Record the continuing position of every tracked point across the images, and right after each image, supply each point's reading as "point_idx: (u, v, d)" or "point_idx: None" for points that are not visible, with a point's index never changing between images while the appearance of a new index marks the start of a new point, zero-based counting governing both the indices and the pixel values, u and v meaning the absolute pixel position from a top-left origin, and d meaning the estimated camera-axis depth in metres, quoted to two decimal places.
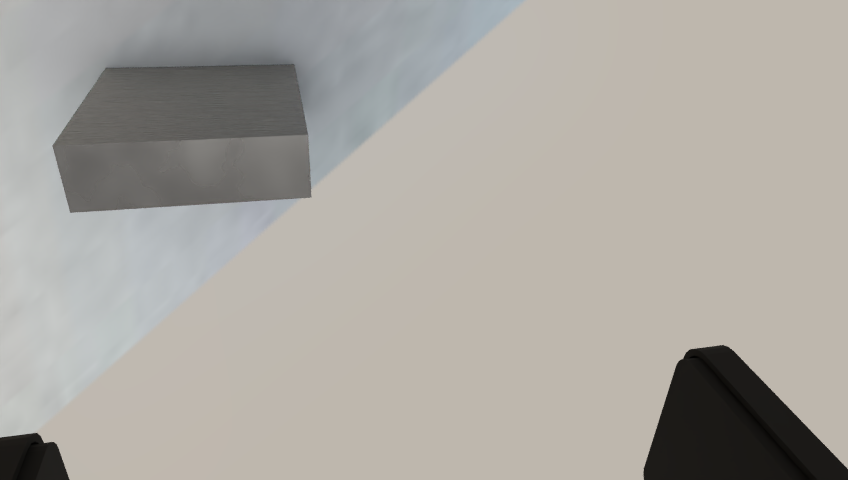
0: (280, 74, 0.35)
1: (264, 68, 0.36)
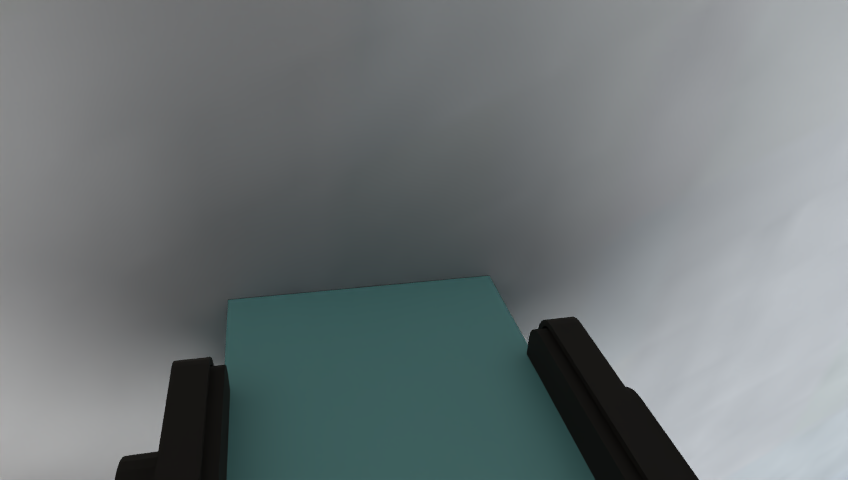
0: None
1: None
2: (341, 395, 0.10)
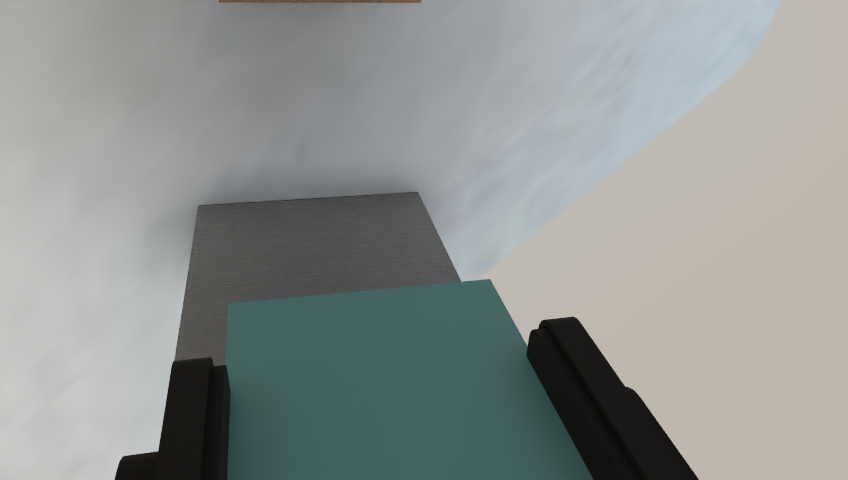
0: (408, 211, 0.29)
1: (385, 199, 0.30)
2: (342, 400, 0.10)
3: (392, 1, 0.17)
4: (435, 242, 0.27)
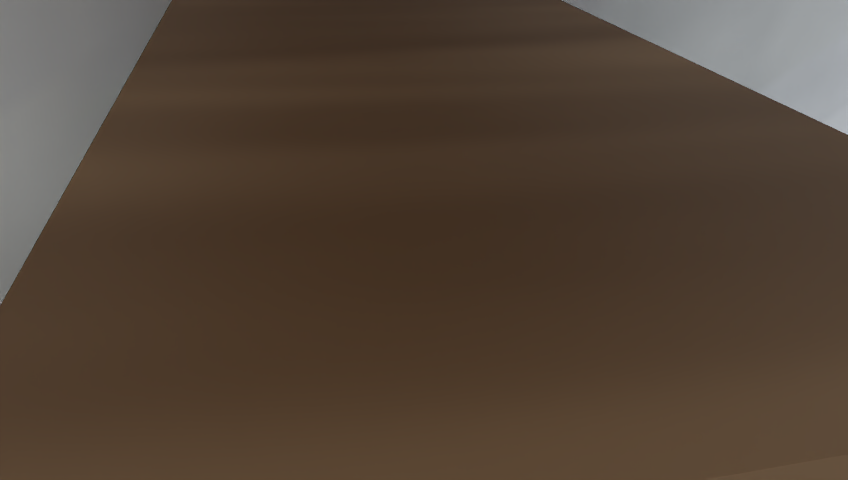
0: None
1: None
2: None
3: None
4: None
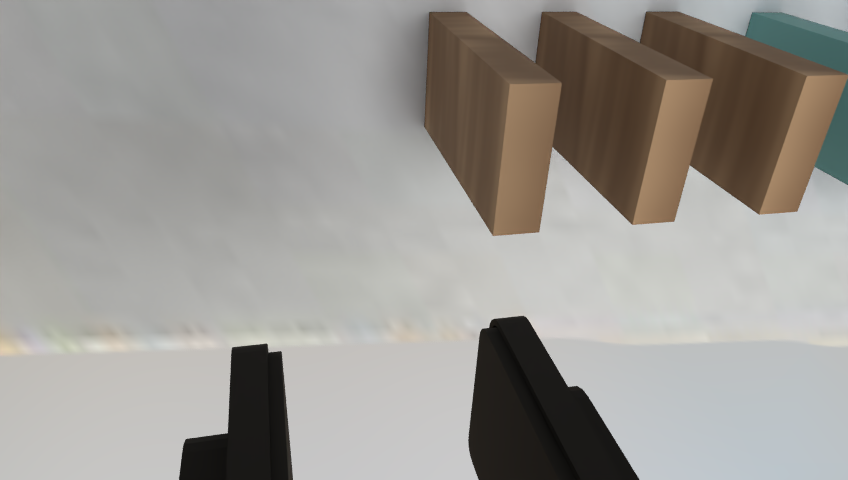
0: None
1: None
2: None
3: (837, 95, 0.21)
4: None
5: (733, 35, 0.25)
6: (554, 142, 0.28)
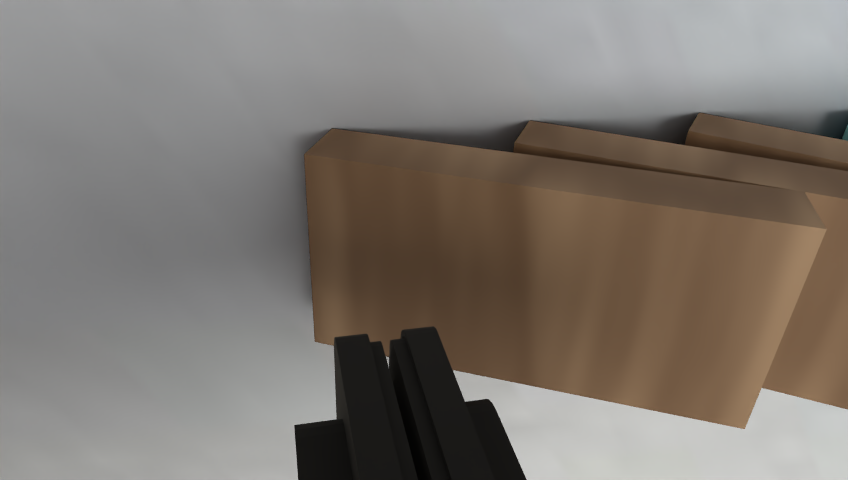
0: None
1: None
2: None
3: None
4: None
5: None
6: None
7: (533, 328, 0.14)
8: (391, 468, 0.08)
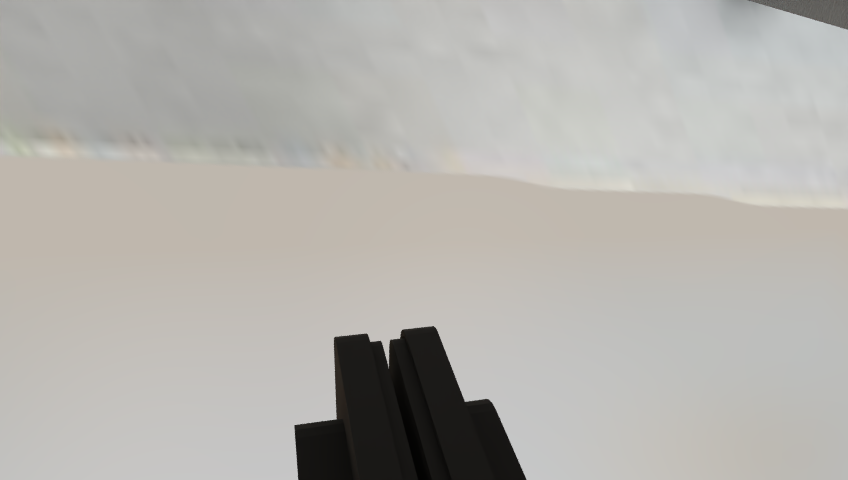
0: None
1: None
2: None
3: None
4: None
5: None
6: None
7: None
8: (391, 468, 0.08)
